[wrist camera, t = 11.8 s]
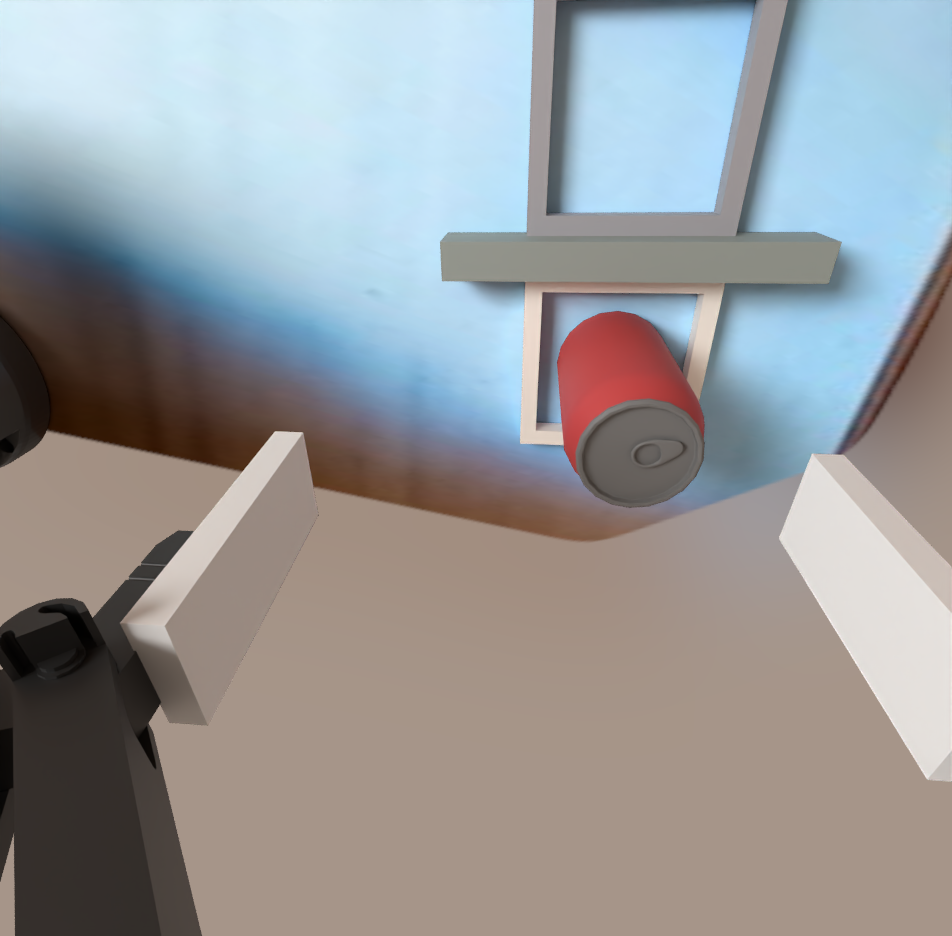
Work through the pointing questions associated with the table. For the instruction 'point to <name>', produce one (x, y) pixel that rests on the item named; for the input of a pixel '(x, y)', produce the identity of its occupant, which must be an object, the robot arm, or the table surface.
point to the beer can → (627, 412)
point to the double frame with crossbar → (640, 229)
